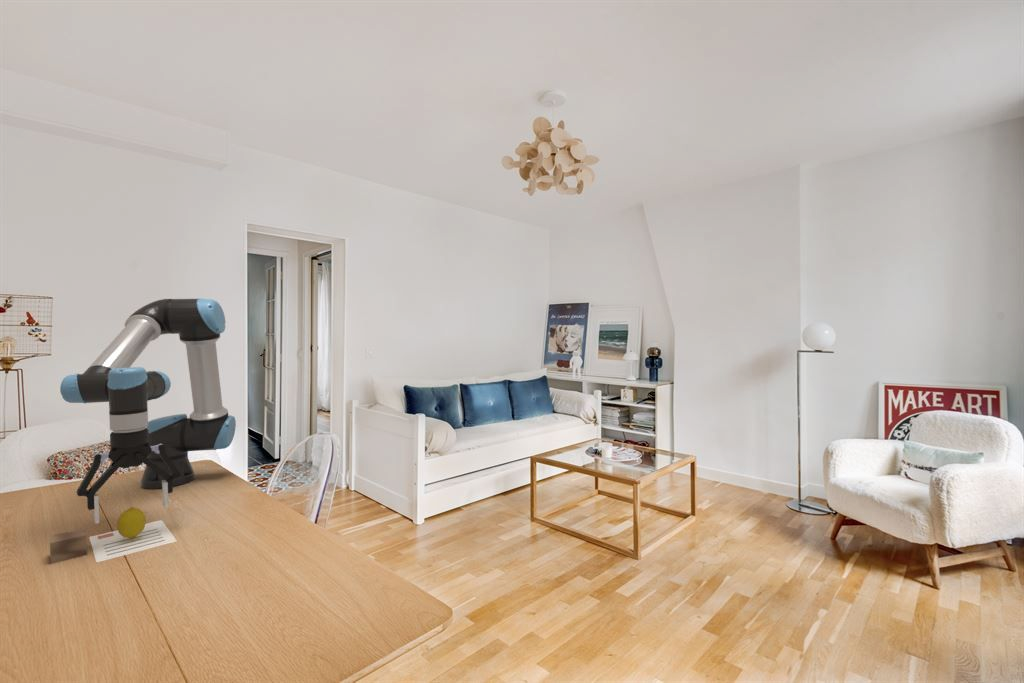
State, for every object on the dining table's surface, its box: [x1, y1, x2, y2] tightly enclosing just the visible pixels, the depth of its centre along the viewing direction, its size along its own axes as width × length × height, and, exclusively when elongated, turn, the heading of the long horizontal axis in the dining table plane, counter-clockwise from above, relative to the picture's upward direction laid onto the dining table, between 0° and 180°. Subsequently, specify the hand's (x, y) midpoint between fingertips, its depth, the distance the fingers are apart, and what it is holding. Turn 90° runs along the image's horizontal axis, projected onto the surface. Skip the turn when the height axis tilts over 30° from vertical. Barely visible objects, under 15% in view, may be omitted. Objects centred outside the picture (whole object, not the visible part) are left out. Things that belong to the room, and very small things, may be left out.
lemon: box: [116, 506, 147, 539], centre depth 119 cm, size 6×6×8 cm
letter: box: [89, 519, 177, 563], centre depth 119 cm, size 15×20×1 cm
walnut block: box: [49, 527, 88, 565], centre depth 111 cm, size 6×6×5 cm
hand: (132, 513), depth 120 cm, fingers open, 13 cm apart
